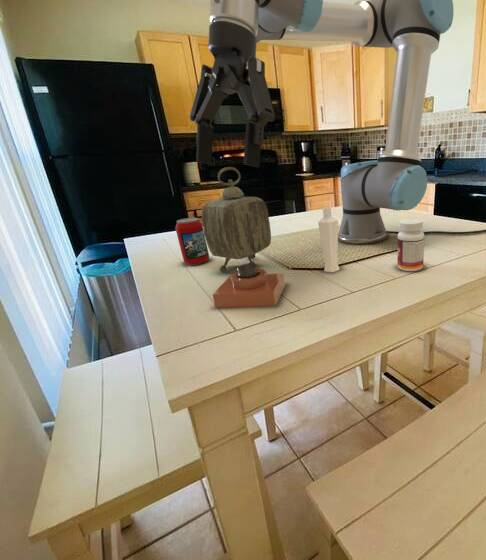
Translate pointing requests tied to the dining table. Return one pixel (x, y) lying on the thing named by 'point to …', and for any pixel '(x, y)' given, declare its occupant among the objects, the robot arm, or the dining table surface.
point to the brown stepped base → (250, 290)
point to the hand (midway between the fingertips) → (226, 164)
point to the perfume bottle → (329, 240)
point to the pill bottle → (410, 245)
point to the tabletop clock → (235, 224)
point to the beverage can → (192, 241)
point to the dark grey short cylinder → (247, 271)
